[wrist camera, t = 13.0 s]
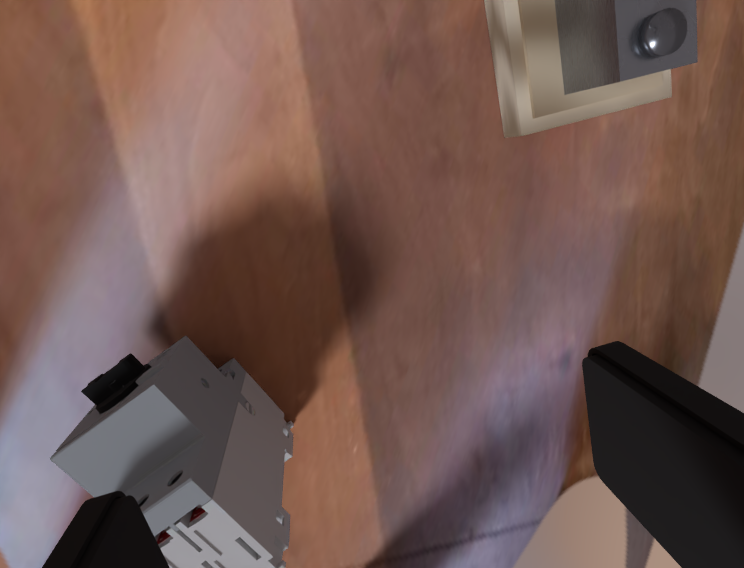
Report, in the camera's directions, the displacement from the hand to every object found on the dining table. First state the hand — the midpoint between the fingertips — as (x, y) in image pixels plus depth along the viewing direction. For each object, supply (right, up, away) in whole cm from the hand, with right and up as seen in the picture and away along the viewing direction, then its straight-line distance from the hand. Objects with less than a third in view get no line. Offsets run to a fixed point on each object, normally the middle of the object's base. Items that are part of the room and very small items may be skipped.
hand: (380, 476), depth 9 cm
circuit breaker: (-14, -5, +29) cm, 33 cm away
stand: (+15, +23, +26) cm, 37 cm away
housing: (+15, +22, +22) cm, 35 cm away
